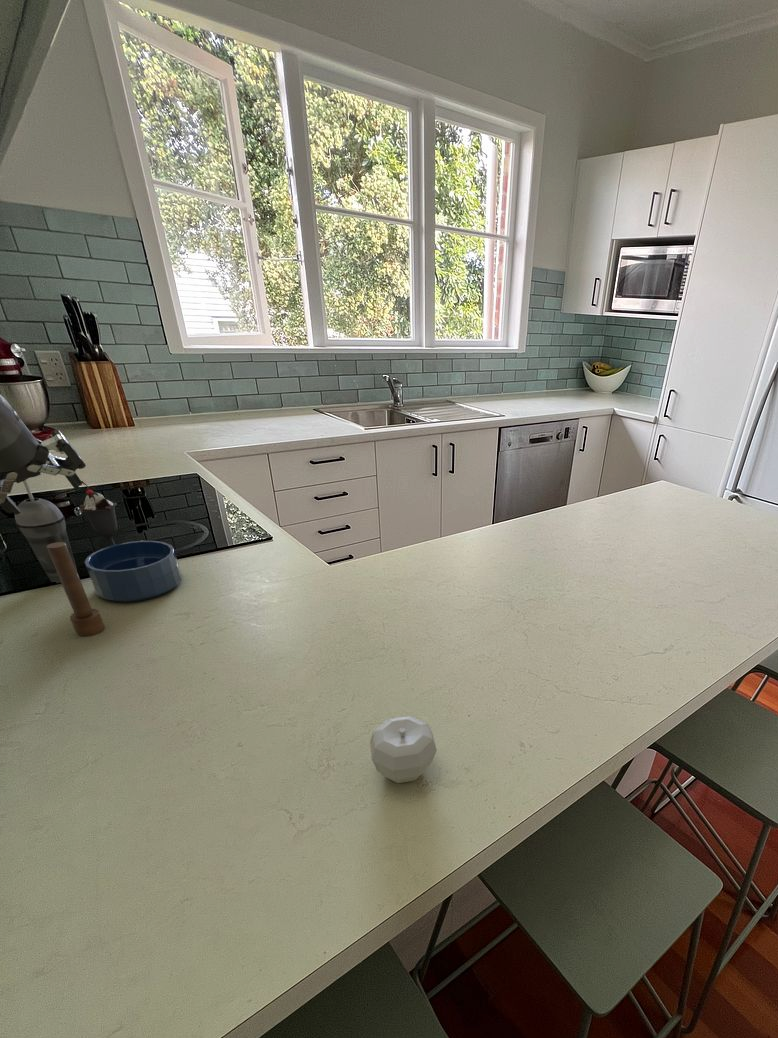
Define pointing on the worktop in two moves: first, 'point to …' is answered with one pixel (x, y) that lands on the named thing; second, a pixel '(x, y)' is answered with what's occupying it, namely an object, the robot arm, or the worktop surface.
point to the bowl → (133, 570)
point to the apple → (402, 748)
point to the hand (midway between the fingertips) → (46, 497)
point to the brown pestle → (75, 592)
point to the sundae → (100, 514)
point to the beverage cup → (42, 530)
